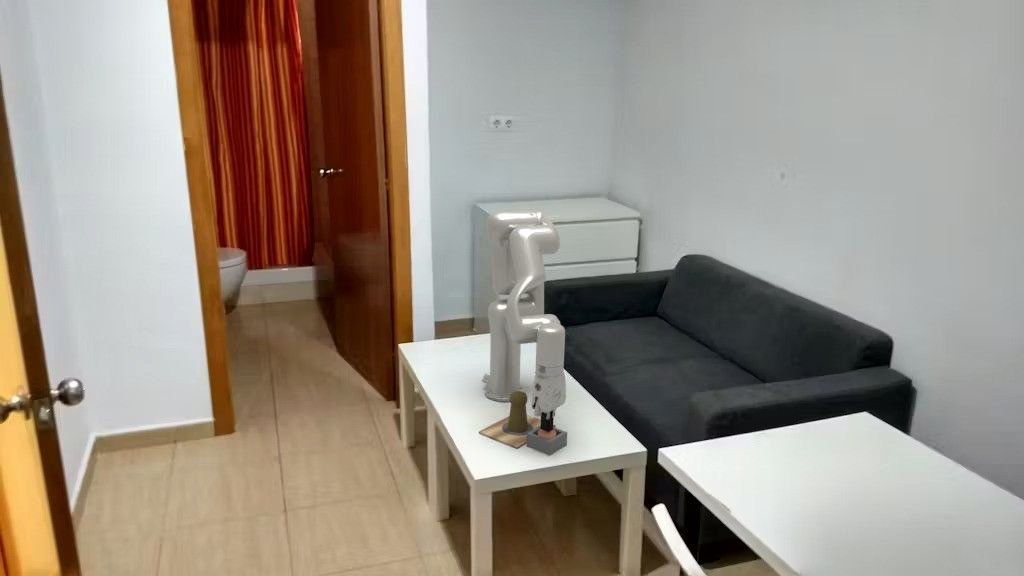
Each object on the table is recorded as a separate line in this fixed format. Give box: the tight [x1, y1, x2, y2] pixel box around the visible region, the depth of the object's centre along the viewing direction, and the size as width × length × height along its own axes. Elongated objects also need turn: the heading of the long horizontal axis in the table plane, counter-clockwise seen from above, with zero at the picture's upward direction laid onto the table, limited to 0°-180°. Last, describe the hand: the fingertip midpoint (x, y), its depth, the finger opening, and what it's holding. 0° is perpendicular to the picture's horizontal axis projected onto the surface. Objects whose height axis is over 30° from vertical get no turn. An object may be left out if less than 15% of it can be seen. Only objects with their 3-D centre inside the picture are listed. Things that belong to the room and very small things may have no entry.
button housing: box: [525, 426, 568, 456], centre depth 217 cm, size 8×8×4 cm
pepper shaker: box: [507, 391, 529, 433], centre depth 225 cm, size 6×6×11 cm
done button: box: [538, 429, 556, 440], centre depth 217 cm, size 5×5×3 cm
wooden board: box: [478, 414, 556, 450], centre depth 226 cm, size 14×18×1 cm
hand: (546, 429), depth 217 cm, fingers closed
